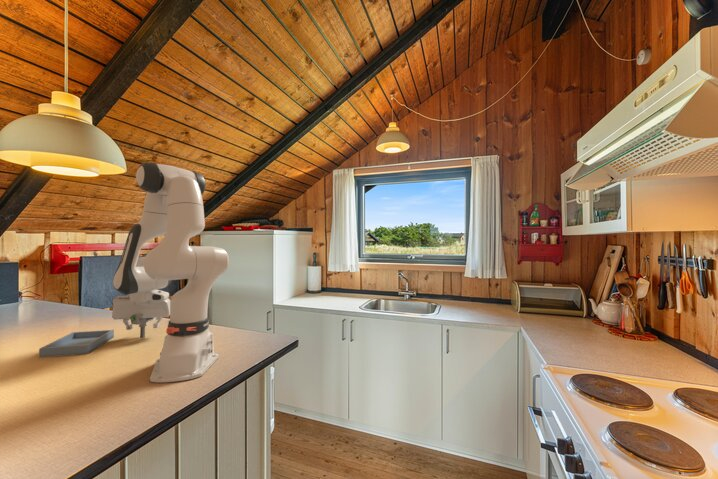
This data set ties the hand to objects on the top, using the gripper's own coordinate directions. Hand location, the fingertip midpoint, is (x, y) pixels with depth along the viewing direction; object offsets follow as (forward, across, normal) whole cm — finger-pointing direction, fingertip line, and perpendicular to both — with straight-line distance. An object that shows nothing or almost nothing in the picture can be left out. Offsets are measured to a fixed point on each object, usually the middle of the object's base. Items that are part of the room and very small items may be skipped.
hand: (142, 328), depth 121 cm
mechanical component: (+4, 0, 0) cm, 4 cm away
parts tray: (+4, -18, -6) cm, 19 cm away
